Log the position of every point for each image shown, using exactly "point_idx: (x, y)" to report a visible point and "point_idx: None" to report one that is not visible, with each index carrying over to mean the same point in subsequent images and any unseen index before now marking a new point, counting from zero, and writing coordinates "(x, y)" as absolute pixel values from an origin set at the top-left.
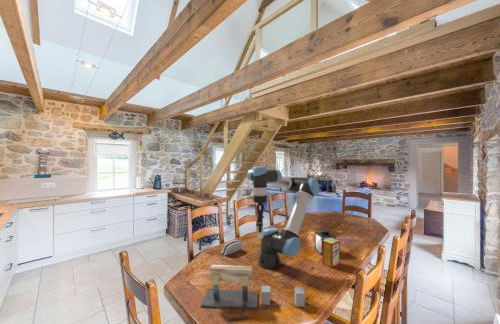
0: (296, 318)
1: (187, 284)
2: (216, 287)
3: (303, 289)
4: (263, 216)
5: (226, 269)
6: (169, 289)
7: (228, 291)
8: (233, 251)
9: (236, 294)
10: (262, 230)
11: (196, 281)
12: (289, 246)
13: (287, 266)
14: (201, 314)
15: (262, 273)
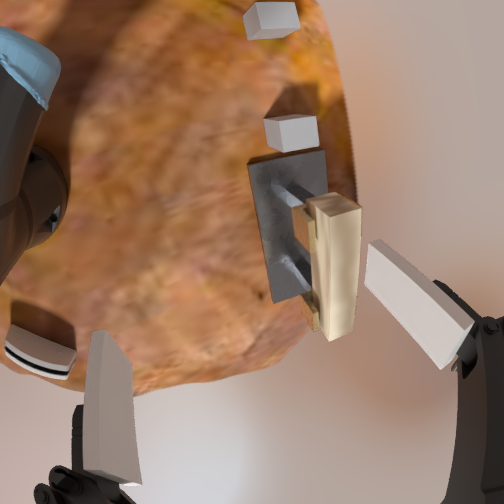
0: (329, 44)
1: (257, 347)
2: None
3: (268, 2)
4: (63, 486)
5: (356, 292)
6: (282, 358)
7: (272, 252)
8: (42, 340)
9: (281, 225)
10: (434, 289)
11: (239, 341)
12: (46, 52)
13: None
14: None
15: (106, 190)
